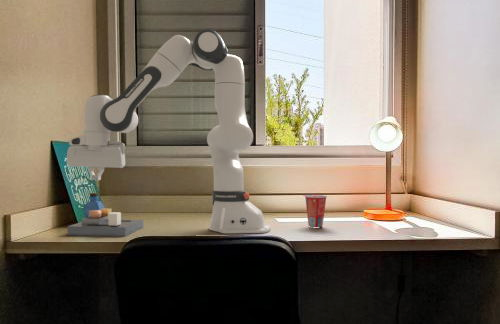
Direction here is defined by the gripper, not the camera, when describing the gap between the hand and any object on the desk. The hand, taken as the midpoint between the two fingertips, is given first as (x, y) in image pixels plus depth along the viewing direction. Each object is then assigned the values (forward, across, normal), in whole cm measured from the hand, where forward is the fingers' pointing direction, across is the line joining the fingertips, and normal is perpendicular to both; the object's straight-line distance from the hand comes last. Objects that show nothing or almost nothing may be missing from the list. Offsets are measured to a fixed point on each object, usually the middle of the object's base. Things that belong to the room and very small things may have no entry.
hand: (95, 180), depth 130 cm
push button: (+13, 0, 0) cm, 13 cm away
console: (+18, -4, -1) cm, 19 cm away
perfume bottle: (+18, +9, -16) cm, 26 cm away
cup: (+16, -78, -17) cm, 82 cm away
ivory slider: (+15, -9, +4) cm, 18 cm away
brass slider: (+15, -2, -5) cm, 16 cm away
